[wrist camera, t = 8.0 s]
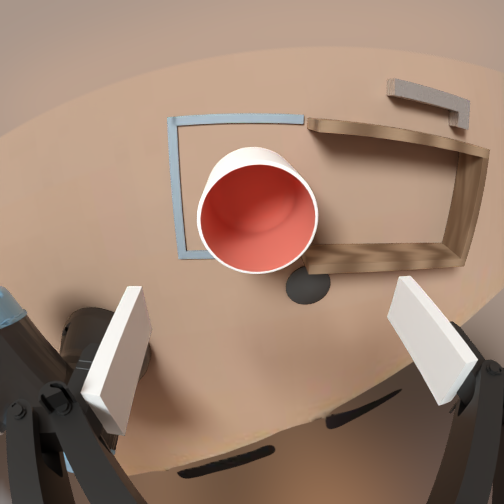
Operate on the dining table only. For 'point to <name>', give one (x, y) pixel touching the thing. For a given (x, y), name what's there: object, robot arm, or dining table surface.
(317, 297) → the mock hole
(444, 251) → the cubby
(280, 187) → the cup
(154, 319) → the dining table surface
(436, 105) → the hook bar
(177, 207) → the pale blue bent rod
